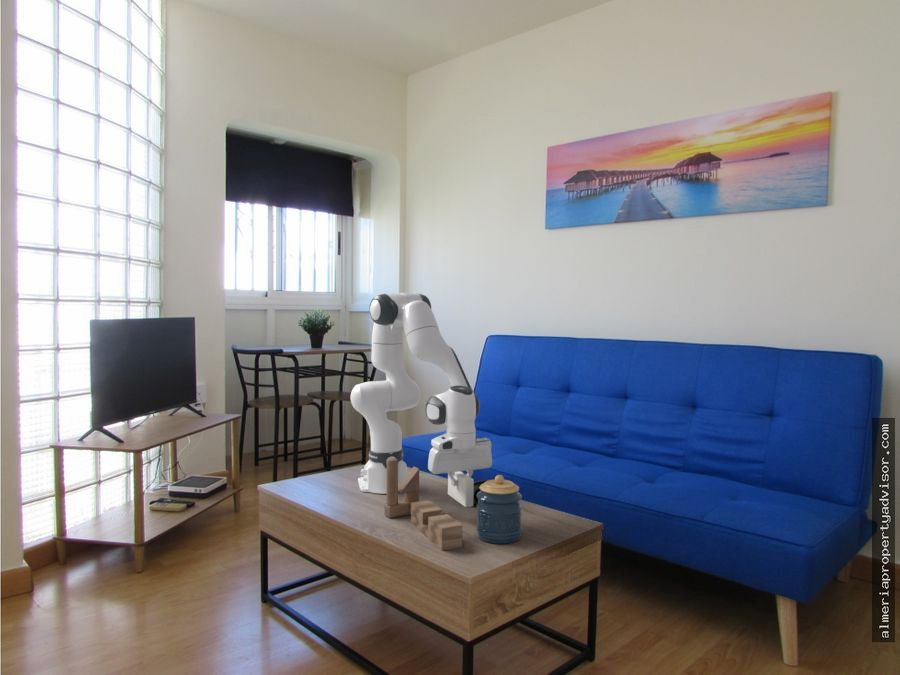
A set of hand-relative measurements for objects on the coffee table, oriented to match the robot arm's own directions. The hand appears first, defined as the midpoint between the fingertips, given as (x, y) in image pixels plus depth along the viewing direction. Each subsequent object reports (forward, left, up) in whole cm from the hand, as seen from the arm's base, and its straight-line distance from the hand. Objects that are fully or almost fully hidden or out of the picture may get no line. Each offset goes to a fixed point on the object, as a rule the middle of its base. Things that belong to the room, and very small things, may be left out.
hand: (460, 484), depth 189 cm
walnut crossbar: (+6, -11, -11) cm, 17 cm away
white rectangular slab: (0, 0, -5) cm, 5 cm away
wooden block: (-14, -14, -12) cm, 23 cm away
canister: (+15, +5, -12) cm, 20 cm away
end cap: (-15, +13, -12) cm, 23 cm away
